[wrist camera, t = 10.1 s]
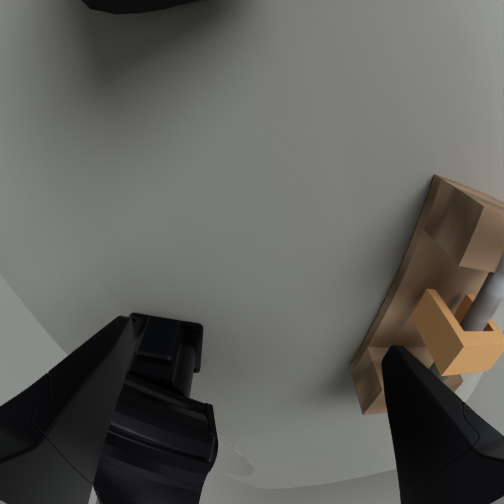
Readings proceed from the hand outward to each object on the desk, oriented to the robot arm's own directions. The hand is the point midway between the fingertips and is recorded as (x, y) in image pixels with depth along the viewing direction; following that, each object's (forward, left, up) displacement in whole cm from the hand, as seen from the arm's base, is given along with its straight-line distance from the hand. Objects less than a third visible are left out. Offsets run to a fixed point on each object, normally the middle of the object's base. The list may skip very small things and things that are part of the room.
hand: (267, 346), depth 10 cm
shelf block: (-5, -17, -12) cm, 21 cm away
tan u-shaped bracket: (-5, -17, -10) cm, 20 cm away
